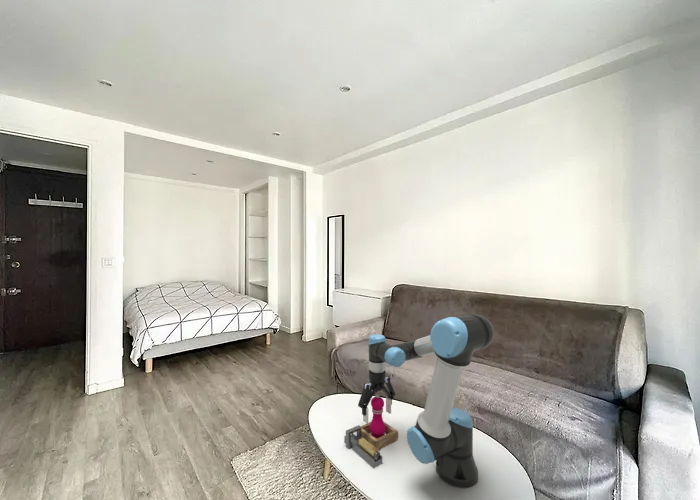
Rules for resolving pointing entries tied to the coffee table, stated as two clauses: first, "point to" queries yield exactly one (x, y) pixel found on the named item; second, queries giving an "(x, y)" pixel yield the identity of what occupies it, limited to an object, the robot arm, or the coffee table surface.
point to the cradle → (381, 441)
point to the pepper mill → (377, 417)
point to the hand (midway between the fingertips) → (377, 417)
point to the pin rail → (353, 443)
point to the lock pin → (369, 449)
